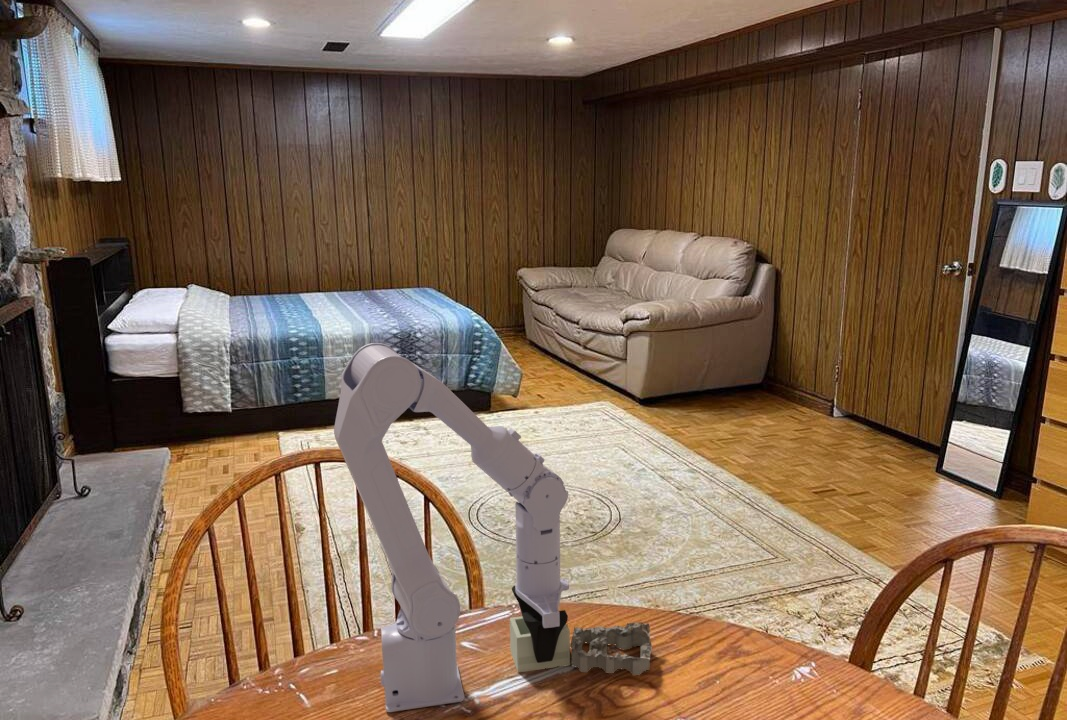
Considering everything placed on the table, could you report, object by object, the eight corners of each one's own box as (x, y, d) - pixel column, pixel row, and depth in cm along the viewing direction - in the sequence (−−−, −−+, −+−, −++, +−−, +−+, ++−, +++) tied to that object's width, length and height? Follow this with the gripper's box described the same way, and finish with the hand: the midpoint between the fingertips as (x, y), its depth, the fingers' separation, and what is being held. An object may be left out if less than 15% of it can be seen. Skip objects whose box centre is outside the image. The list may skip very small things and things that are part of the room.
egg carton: (652, 649, 108) (653, 622, 107) (649, 682, 101) (650, 653, 100) (575, 641, 110) (575, 614, 109) (566, 673, 103) (566, 644, 102)
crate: (517, 672, 103) (517, 637, 102) (510, 651, 108) (509, 617, 107) (569, 665, 104) (569, 630, 103) (560, 644, 109) (560, 611, 108)
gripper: (583, 576, 97) (583, 675, 100) (554, 528, 111) (555, 616, 113) (526, 583, 95) (528, 684, 98) (504, 533, 109) (507, 623, 112)
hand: (539, 648), depth 106 cm, fingers closed on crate, 5 cm apart
